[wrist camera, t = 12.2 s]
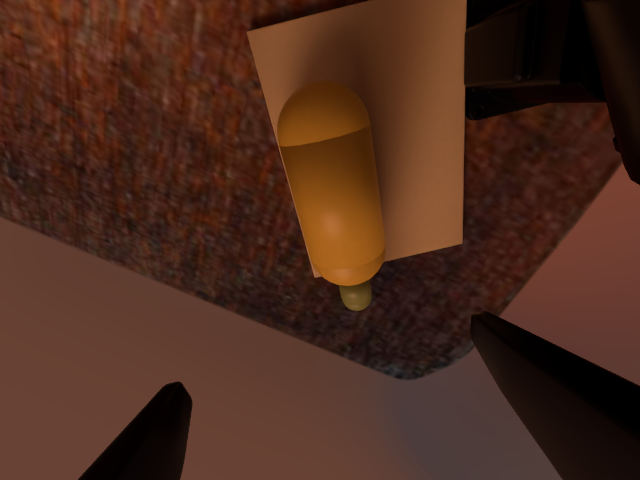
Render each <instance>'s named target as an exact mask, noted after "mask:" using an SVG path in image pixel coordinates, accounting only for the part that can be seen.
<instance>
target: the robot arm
mask: <svg viewBox="0 0 640 480" xmlns="http://www.w3.org/2000/svg"><path fill="white" fill-rule="evenodd" d="M464 85H465V86H466V116H467V118H468V119H470V120H480V119H484V118H488V117H493V116H497V115H501V114H505V113H509V112H513V111H517V110H521V109H525V108H530V107H534V106H538V105H542V104H546V103H607V106H608V110H609V114H610V118H611V122H612V125H613V129H614V133H615V137H614V138H613V142H614V146H615V150H616V151H618V152H619V153H621V157H622V161H623V164H624V166H625V169H626V171H627V173H628V175H629V177H630V179H631V180H632V181H634V182H636V183H637V184H639V185H640V0H468V20H467V30H466V32H465V45H464ZM476 107H478V112H477V114H476V115H474V109H475V108H476ZM470 334H471V338H472V341H473V343H474V345H475V346H476V348H477V350H478V352H479V353H480V355H481V357H482V359H483V361H484V362H485V364H486V366H487V368H488V369H489V371H490V373H491V375H492V376H493V378H494V380H495V382H496V383H497V385H498V387H499V389H500V390H501V392H502V393H503V395H504V396H505V398H506V399H507V401H508V402H509V403H510V405H511V406H512V408H513V409H514V411H515V412H516V413H517V415H518V416H519V418H520V419H521V421H522V422H523V423H524V425H525V426H526V428H527V429H528V431H529V432H530V433H531V435H532V436H533V438H534V439H535V441H536V442H537V444H538V445H539V446H540V448H541V449H542V451H543V452H544V453H545V455H546V456H547V458H548V459H549V461H550V462H551V464H552V465H553V466H554V468H555V469H556V471H557V472H558V474H559V475H560V477H561V478H562V479H563V480H640V386H639V385H637V384H635V383H633V382H631V381H628V380H627V379H624V378H623V377H621V376H618V375H616V374H614V373H612V372H610V371H608V370H606V369H604V368H602V367H600V366H598V365H596V364H594V363H592V362H590V361H588V360H586V359H583V358H582V357H580V356H577V355H575V354H573V353H571V352H569V351H567V350H565V349H563V348H561V347H559V346H557V345H555V344H553V343H551V342H549V341H546V340H545V339H543V338H541V337H539V336H536V335H534V334H532V333H530V332H528V331H526V330H524V329H522V328H520V327H518V326H516V325H514V324H512V323H510V322H508V321H506V320H504V319H501V318H500V317H498V316H496V315H494V314H491V313H489V312H486V311H483V312H479V313H474V314H473V315H472V316H471V331H470ZM191 411H192V399H191V396H190V395H189V393H188V392H187V390H186V389H185V387H184V386H183V384H182V383H181V382H174V383H169V384H166V385H165V386H163V387H162V388H161V389H160V391H159V392H158V393H157V394H156V395H155V396H154V397H153V398H152V399H151V400H150V401H149V403H148V404H147V405H146V406H145V407H144V408H143V409H142V410H141V412H139V414H138V415H137V416H136V417H135V418H134V419H133V420H132V421H131V422H130V423H129V424H128V425H127V427H126V428H125V429H124V430H123V431H122V432H121V433H120V434H119V435H118V436H117V437H116V439H115V440H114V441H113V442H112V443H111V444H110V445H109V446H108V447H107V448H106V449H105V451H104V452H103V453H102V454H101V455H100V456H99V457H98V458H97V459H96V460H95V461H94V462H93V464H92V465H91V466H90V467H89V468H88V469H87V470H86V471H85V472H84V473H83V474H82V476H81V477H80V478H79V479H78V480H180V478H181V473H182V469H183V464H184V459H185V453H186V446H187V439H188V432H189V425H190V418H191Z"/></svg>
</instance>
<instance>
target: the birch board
mask: <svg viewBox="0 0 640 480" xmlns="http://www.w3.org/2000/svg"><path fill="white" fill-rule="evenodd" d="M466 16H467V0H368V1H364V2H360V3H356V4H352V5H348V6H344V7H340V8H336V9H332V10H329V11H325V12H321V13H317V14H313V15H309V16H305V17H301V18H297V19H293V20H289V21H285V22H282V23H278V24H274V25H270V26H266V27H262V28H258V29H254V30H250V31H247V35H248V39H249V43H250V46H251V50H252V53H253V57H254V61H255V64H256V68H257V71H258V75H259V79H260V82H261V86H262V89H263V93H264V97H265V100H266V104H267V107H268V111H269V115H270V118H271V122H272V125H273V129H274V133H275V136H276V140H277V143H278V137H277V124H278V119H279V115H280V112H281V110H282V107H283V105H284V104H285V102H286V101H287V99H288V98H289V97H290V96H291V95H292V94H293V93H294V92H295V91H296V90H297V89H299V88H300V87H302V86H303V85H306V84H308V83H311V82H315V81H321V80H325V81H334V82H337V83H340V84H343V85H344V86H346V87H348V88H350V89H351V90H352V91H353V92H354V93H355V94H356V95H358V97H359V98H360V99H361V101H362V102H363V104H364V105H365V108H366V110H367V112H368V115H369V120H370V124H371V132H372V140H373V148H374V156H375V163H376V171H377V179H378V187H379V195H380V202H381V210H382V218H383V226H384V234H385V241H386V253H385V257H384V261H383V262H385V261H389V260H394V259H398V258H402V257H406V256H411V255H415V254H419V253H424V252H428V251H432V250H437V249H441V248H445V247H449V246H454V245H458V244H462V239H463V183H464V127H465V85H464V45H465V32H466ZM278 147H279V143H278ZM279 151H280V147H279ZM280 154H281V151H280ZM281 158H282V154H281ZM282 161H283V158H282ZM283 165H284V162H283ZM284 169H285V165H284ZM285 172H286V169H285ZM286 176H287V172H286ZM287 180H288V176H287ZM288 183H289V180H288ZM289 187H290V183H289ZM290 190H291V187H290ZM291 194H292V190H291ZM292 198H293V194H292ZM293 201H294V198H293ZM294 205H295V201H294ZM295 208H296V205H295ZM296 212H297V208H296ZM297 216H298V212H297ZM298 219H299V216H298ZM299 223H300V219H299ZM300 226H301V223H300ZM301 230H302V226H301ZM302 234H303V230H302ZM303 237H304V234H303ZM304 241H305V237H304ZM305 244H306V241H305ZM306 248H307V244H306ZM307 252H308V248H307ZM308 255H309V252H308ZM309 259H310V255H309ZM310 262H311V266H312V270H313V273H314V277H315V278H316V277H320V276H321V275H320V274H319V273H318V272H317V270H316V269H315V267H314V266H313V263H312V261H311V259H310Z"/></svg>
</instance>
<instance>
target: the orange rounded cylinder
mask: <svg viewBox="0 0 640 480" xmlns="http://www.w3.org/2000/svg"><path fill="white" fill-rule="evenodd" d="M277 137H278V143H279V147H280V151H281V154H282V158H283V162H284V165H285V169H286V172H287V176H288V180H289V183H290V187H291V190H292V194H293V198H294V201H295V205H296V208H297V212H298V216H299V219H300V223H301V226H302V230H303V234H304V237H305V241H306V244H307V248H308V252H309V255H310V259H311V261H312V263H313V266H314V267H315V269H316V270H317V272H318V273H319V274H320V275H321V276H322V277H324V278H325V279H326V280H328V281H330V282H332V283H334V284H337V285H339V289H340V293H341V297H342V300H343V303H344V304H345V305H346V306H347V307H348V308H349V309H352V310H362V309H364V308H366V307H367V306H368V305H369V303H370V302H371V298H372V292H371V287H370V281H369V279H370V278H371V277H373V276H374V275H375V274H376V272H377V271H378V270H379V269H380V267H381V265H382V263H383V261H384V257H385V253H386V241H385V234H384V226H383V218H382V210H381V202H380V195H379V187H378V179H377V171H376V163H375V156H374V148H373V140H372V132H371V124H370V120H369V115H368V112H367V110H366V108H365V105H364V104H363V102H362V101H361V99H360V98H359V97H358V95H356V94H355V93H354V92H353V91H352V90H351V89H350V88H348V87H346V86H344V85H343V84H340V83H337V82H334V81H325V80H321V81H315V82H311V83H308V84H306V85H303V86H302V87H300V88H299V89H297V90H296V91H295V92H294V93H293V94H292V95H291V96H290V97H289V98H288V99H287V101H286V102H285V104H284V105H283V107H282V110H281V112H280V115H279V119H278V124H277Z"/></svg>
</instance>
